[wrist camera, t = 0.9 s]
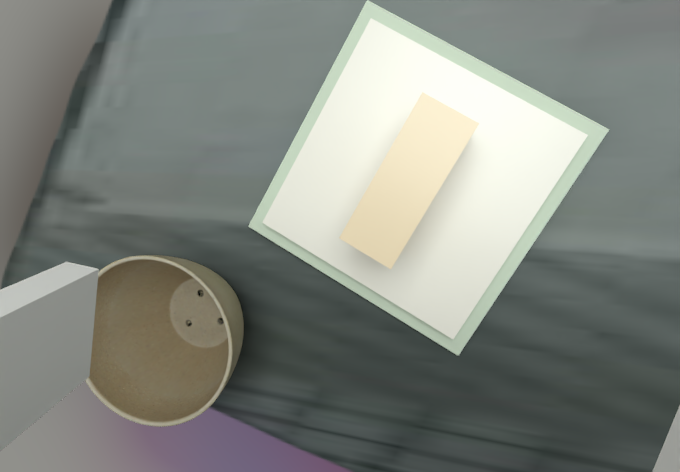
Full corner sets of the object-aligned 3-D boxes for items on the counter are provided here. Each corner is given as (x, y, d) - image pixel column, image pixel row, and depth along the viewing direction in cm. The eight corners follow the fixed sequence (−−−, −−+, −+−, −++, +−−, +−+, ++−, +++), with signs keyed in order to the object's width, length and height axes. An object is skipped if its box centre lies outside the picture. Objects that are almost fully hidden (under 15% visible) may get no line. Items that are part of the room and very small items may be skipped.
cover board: (583, 136, 28) (628, 123, 21) (452, 334, 31) (456, 378, 24) (373, 23, 30) (353, -23, 23) (267, 221, 32) (221, 232, 26)
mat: (606, 130, 28) (609, 129, 28) (458, 353, 31) (458, 355, 31) (368, 3, 30) (367, 0, 30) (251, 225, 33) (248, 226, 33)
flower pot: (260, 394, 35) (214, 449, 28) (134, 356, 36) (62, 399, 29) (286, 259, 33) (245, 280, 26) (153, 225, 35) (81, 237, 28)
